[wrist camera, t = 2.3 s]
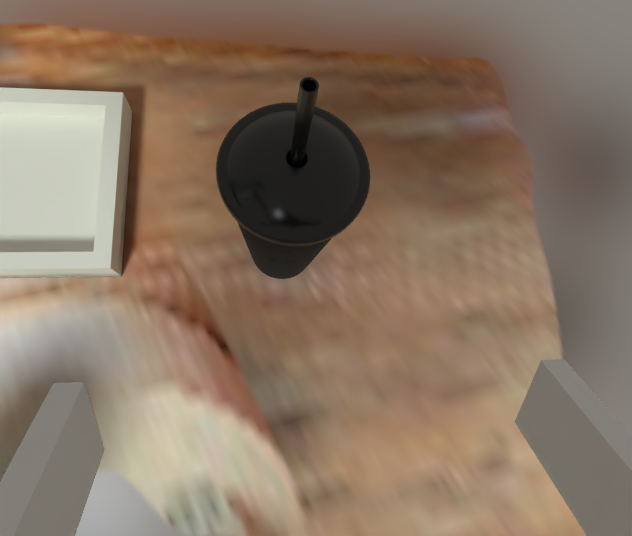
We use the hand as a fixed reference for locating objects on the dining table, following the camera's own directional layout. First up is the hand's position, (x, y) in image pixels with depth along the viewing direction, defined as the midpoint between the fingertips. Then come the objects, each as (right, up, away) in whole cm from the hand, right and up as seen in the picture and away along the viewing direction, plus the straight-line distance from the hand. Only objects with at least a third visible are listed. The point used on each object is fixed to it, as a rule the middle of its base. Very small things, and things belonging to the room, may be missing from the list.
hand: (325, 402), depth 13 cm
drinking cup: (-3, +5, +22) cm, 23 cm away
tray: (-23, +10, +20) cm, 32 cm away
